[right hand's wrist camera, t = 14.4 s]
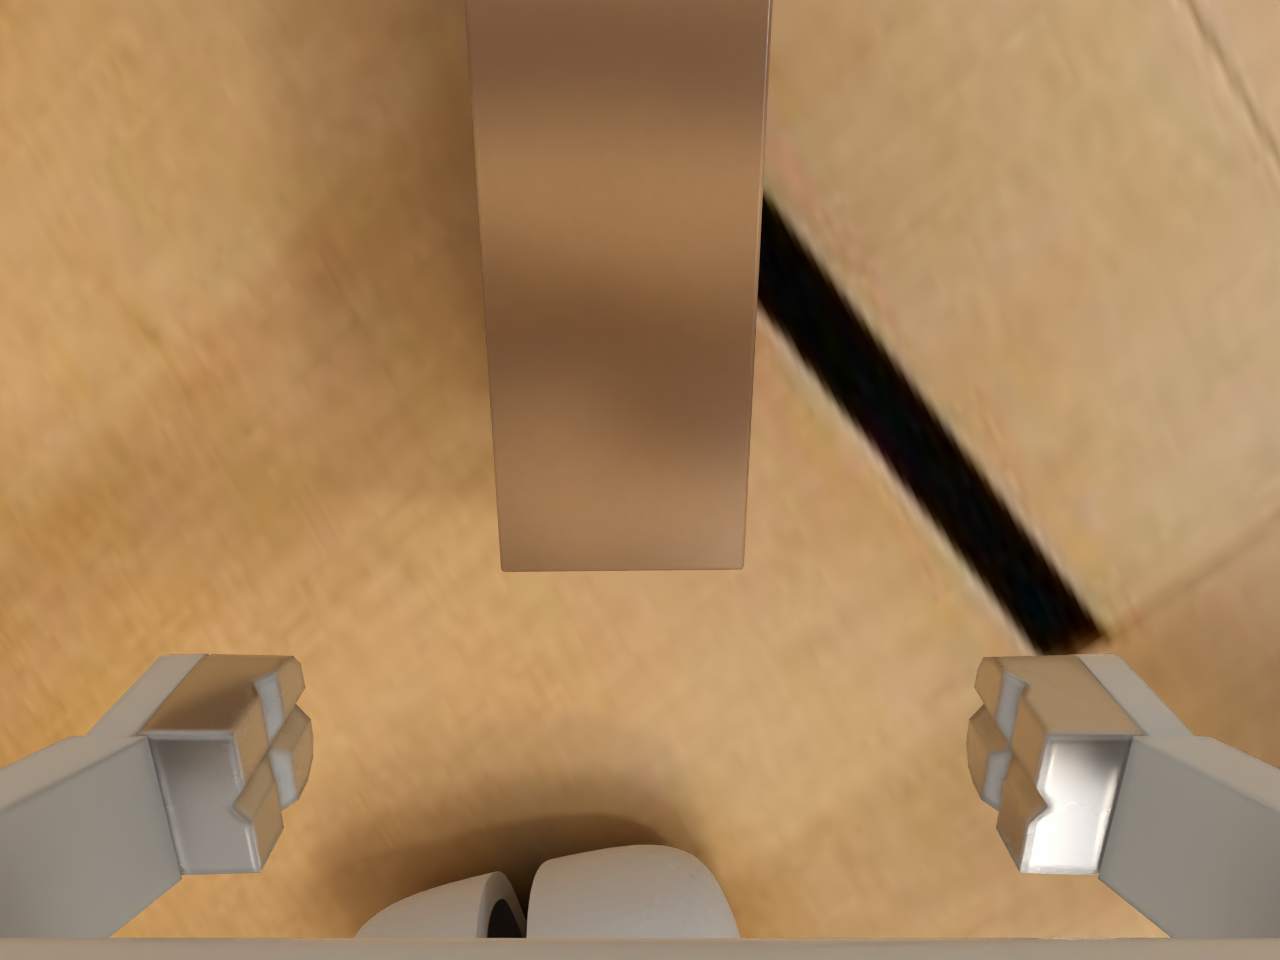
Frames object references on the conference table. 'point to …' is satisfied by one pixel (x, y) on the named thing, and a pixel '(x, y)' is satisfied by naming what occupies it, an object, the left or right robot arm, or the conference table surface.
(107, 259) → the conference table surface
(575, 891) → the white plastic device
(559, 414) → the box
